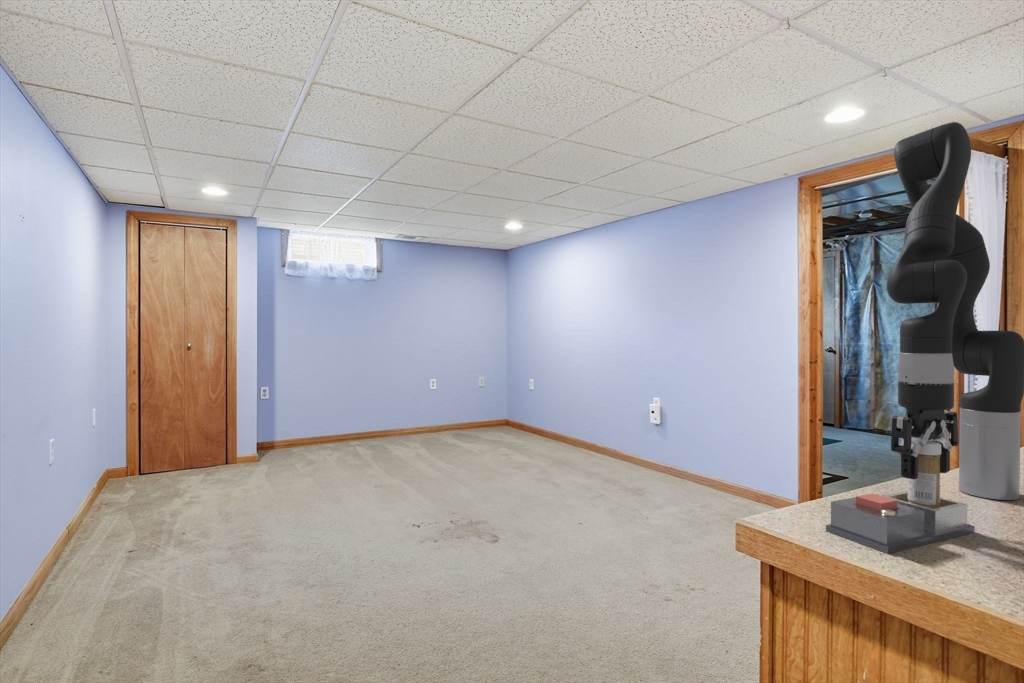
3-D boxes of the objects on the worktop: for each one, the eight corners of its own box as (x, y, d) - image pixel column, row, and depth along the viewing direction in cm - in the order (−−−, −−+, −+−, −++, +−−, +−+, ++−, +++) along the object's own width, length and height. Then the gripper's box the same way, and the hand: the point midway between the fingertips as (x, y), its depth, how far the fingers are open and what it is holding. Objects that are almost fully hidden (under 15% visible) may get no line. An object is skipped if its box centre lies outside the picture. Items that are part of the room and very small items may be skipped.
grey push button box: (909, 513, 97) (909, 482, 97) (974, 532, 88) (974, 498, 88) (825, 531, 89) (826, 497, 89) (888, 553, 80) (888, 516, 80)
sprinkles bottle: (944, 521, 90) (946, 442, 90) (933, 526, 88) (935, 445, 88) (912, 514, 94) (914, 437, 94) (901, 518, 92) (902, 440, 91)
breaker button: (871, 523, 89) (872, 493, 89) (897, 531, 85) (897, 500, 85) (855, 526, 87) (855, 496, 87) (880, 535, 84) (881, 503, 84)
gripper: (926, 376, 97) (926, 465, 97) (875, 379, 91) (875, 474, 91) (976, 379, 90) (975, 475, 90) (923, 383, 84) (923, 486, 84)
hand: (925, 475), depth 91 cm, fingers open, 8 cm apart
